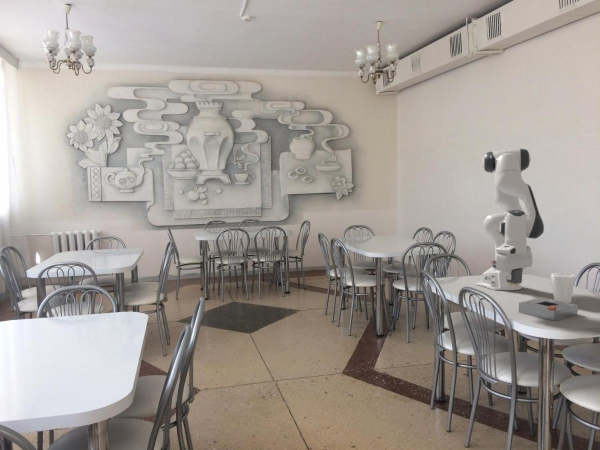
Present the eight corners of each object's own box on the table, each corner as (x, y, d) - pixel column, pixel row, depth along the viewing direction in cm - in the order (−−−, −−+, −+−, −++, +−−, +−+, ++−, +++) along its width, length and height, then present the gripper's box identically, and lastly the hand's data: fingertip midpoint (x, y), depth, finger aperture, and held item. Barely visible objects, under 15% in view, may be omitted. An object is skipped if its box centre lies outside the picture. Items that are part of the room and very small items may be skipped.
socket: (518, 312, 207) (518, 300, 207) (541, 306, 215) (542, 295, 215) (554, 320, 193) (554, 308, 193) (577, 314, 201) (577, 302, 201)
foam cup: (564, 306, 213) (564, 277, 212) (546, 302, 221) (546, 274, 220) (579, 303, 217) (579, 275, 216) (560, 299, 225) (561, 272, 224)
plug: (506, 285, 214) (507, 268, 213) (513, 283, 216) (513, 267, 215) (515, 287, 210) (515, 270, 209) (521, 285, 212) (522, 269, 211)
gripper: (524, 244, 219) (523, 274, 221) (493, 249, 209) (492, 280, 211) (536, 246, 213) (535, 276, 215) (506, 251, 203) (505, 283, 205)
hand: (514, 278), depth 213 cm, fingers closed on plug, 4 cm apart
